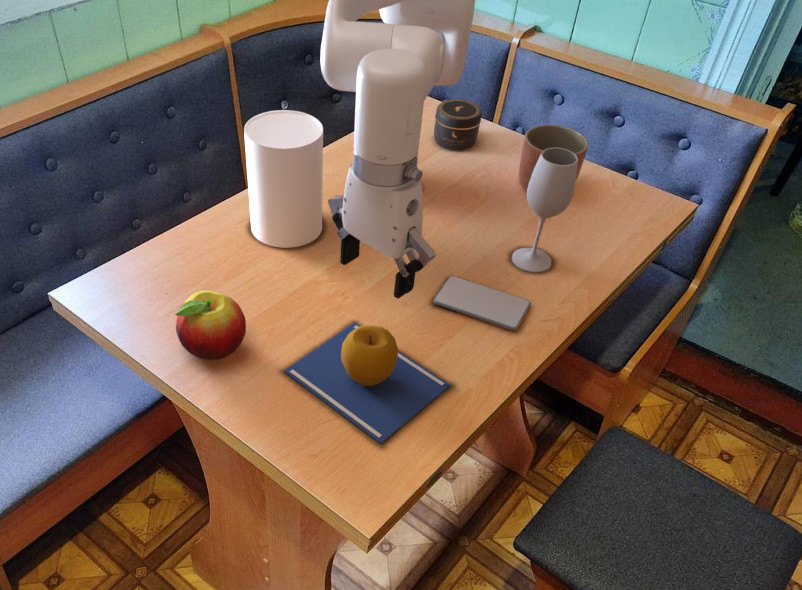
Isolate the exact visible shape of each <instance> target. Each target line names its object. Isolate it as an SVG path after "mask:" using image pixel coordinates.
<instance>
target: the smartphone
mask: <svg viewBox="0 0 802 590" xmlns="http://www.w3.org/2000/svg"><path fill="white" fill-rule="evenodd" d="M433 304H434V305H437V306H439V307H442V308H445V309H448V310H450V311H453V312H457V313H460V314H463V315H465V316H469V317H472V318H474V319H477V320H481V321H483V322H486V323H489V324H492V325H495V326H497V327H501V328H504V329H507V330H509V331H516V330H518V329H519V327H520V325H521V323H522V321H523V319H524V318H525V316H526V314H527V312H528V310H529V309H530V307H531V304H532V303H531V301H530V300H529V299H526V298H523V297H521V296H518V295H515V294H511V293H508V292H505V291H502V290H499V289H496V288H493V287H489V286H486V285H483V284H481V283H478V282H474V281H471V280H468V279H465V278H462V277H459V276H455V275H450V276H448V278H447V279H446V280H445V282H444V284H443V285H442V286H441V287H440V289H439V291H438V292H437V294H436V295H435V296H434V298H433Z"/></svg>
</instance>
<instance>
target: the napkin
mask: <svg viewBox="0 0 802 590" xmlns="http://www.w3.org/2000/svg"><path fill="white" fill-rule="evenodd" d="M360 326H361V325H360V324H359V323H357V322H355V321H354V322H353V323H351V324H350V325H348V326H346V327H345V328H344V329H342V330H341V331H340V332H338V333H337V334H335V335H333V336H332V337H331V338H329V339H328V340H326V341H325V342H323V343H322V344H320V345H319V346H318V347H316V348H315V349H314V350H312V351H311V352H309V353H307V354H305V356H303V357H302V358H300V359H299V360H297V361H296V362H295V363H293V364H292V365H290V366H289V367H287V368H286V369H284V370H283V373H284V374H286V376H288V377H289V378H291V379H292V380H293V381H295V382H296V383H297V384H298V385H300V386H301V387H303V388H304V389H305V390H307V391H308V392H309V393H310V394H312V395H313V396H315V397H316V398H317V399H318V400H320V401H322V402H323V403H324V404H326V405H327V406H328V407H329V408H331V409H332V410H333V411H335V412H336V413H337V414H339V415H341V416H342V417H343V418H344V419H345V420H347V421H348V422H350V423H351V424H352V425H354V426H355V427H356V428H358V429H359V430H360V431H362V432H363V433H364V434H366V435H367V436H368V437H370V438H371V439H373V440H374V441H375V442H376V443H377V444H379V445H382V444H384V443H385V442H386V441H387V440H388V439H389V438H390V437H392V436H393V435H394V434H395V433H397V432H398V431H399V430H400V429H401V428H402V427H404V426H405V425H406V424H408V422H410V421H411V420H412V419H413V418H415V416H417V415H418V414H419V413H421V411H423V410H424V409H425V408H427V406H429V405H430V404H431V403H432V402H434V400H436V399H437V398H438V397H439V396H441V395H442V394H443V393H444V392H446V391H447V390H448V389H449V388H451V384H450V383H448V382H447V381H446V380H445V379H443V378H441V377H439V376H438V375H436V374H435V373H433V372H432V371H430V370H428V368H425V367H424V366H423V365H421V364H420V363H418V362H417V361H415V360H413V359H412V358H410V357H409V356H408V355H405V354H404V353H403V352H401V351H399V350H398V358H397V361H396V364H395V368H394V370H393V372H392V373H391V375H390V376H389V377H388V378H387V379H386V380H384V381H383V382H381V383H379V384H377V385H374V386H363V385H361V384H359V383H357V382H355V381H354V380H353V379H352V378H351V377H350V376H349V374H348V373H347V372H346V369H345V367H344V365H343V362H342V360H341V350H342V344H343V342H344V340H345V339H346V337H347V336H348V335H349V334H350V332H351V331H353V330H355V329H356V328H358V327H360Z"/></svg>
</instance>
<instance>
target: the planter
mask: <svg viewBox="0 0 802 590" xmlns="http://www.w3.org/2000/svg"><path fill="white" fill-rule="evenodd" d="M589 144H590V143H589V140H588V139H587V137H586V136H585V135H584V134H583V133H581V132H580V131H578V130H576V129H574V128H571V127H568V126H564V125H559V124H541V125H540V124H539V125H536V126H534V127H531V128H529V129H528V130H527V131H526V132H525V134H524V139H523V145H522V150H521V155H520V161H519V167H518V168H519V169H518V181H519V185H520V186H521V187H522V188H523V190H524V191H525V192H527V189H528V184H529V181H530V178H531V176H532V173H533V170H534V168H535V166H536V163H537V161H538V159H539V157H540V155H541V153H542V152H543V151H544V150H545V149H548V148H563V149H567V150H569V151H571V152H573V153H574V154H576V156H577V157H578V167H577V176H576V181H578V178H579V175H580V172H581V170H582V167H583V164H584V161H585V158H586V156H587V151H588V149H589V146H590V145H589Z"/></svg>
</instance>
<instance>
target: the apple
mask: <svg viewBox="0 0 802 590" xmlns="http://www.w3.org/2000/svg"><path fill="white" fill-rule="evenodd" d="M398 351H399V349H398V345H397V341H396V338H395V337H394V335H393V334H392V332H390V331H389V330H388V329H386V328H384V327H382V326H379V325H374V324H369V325H360V327H358V328H356V329H355V330H353V331H351V332H350V334H349V335H348V336H347V337H346V339H345V340H344V342H343V344H342V350H341V360H342V362H343V365H344V367H345V369H346V372H347V373H348V374H349V376H350V377H351V378H352V379H353V380H354V381H355V382H357V383H359V384H361V385H363V386H374V385H377V384H379V383H381V382H383V381H384V380H386V379H387V378H388V377H389V376H390V375H391V373H392V372H393V370H394V368H395V364H396V361H397V358H398Z"/></svg>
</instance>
